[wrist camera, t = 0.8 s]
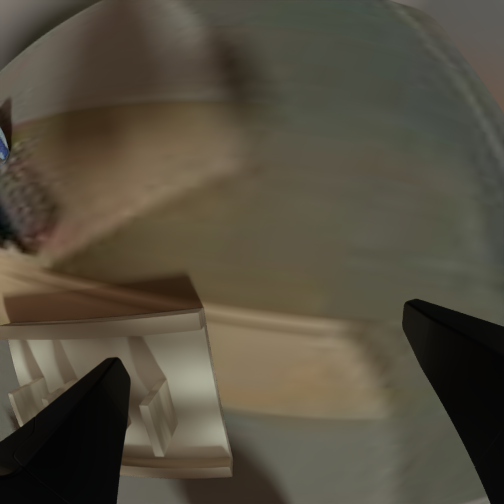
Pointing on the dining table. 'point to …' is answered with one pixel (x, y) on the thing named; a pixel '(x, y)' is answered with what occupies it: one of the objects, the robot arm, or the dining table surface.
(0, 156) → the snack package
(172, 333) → the dish rack
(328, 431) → the dining table surface
